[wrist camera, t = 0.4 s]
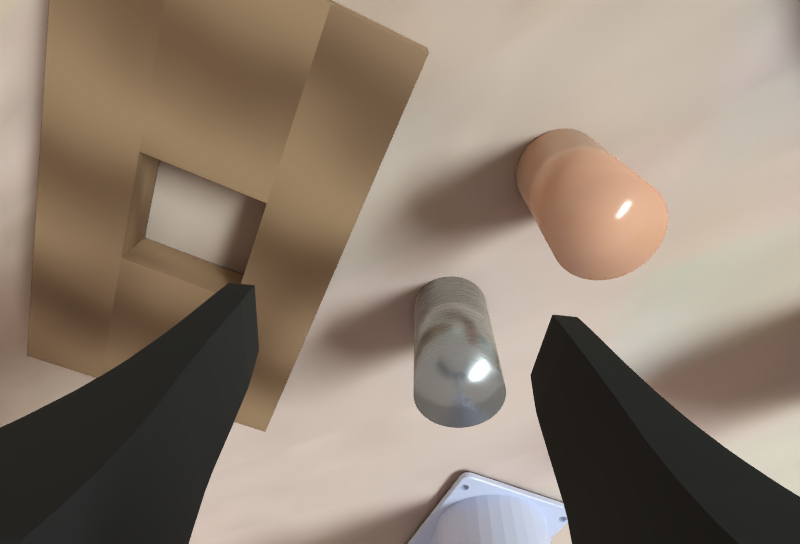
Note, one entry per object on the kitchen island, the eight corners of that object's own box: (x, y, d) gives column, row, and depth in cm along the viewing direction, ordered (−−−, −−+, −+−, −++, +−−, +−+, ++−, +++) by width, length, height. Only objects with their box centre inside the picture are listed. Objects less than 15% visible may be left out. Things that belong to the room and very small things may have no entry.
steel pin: (465, 345, 25) (477, 438, 19) (402, 321, 24) (398, 410, 19) (499, 293, 23) (523, 378, 18) (433, 266, 22) (438, 346, 17)
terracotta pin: (570, 222, 21) (620, 295, 16) (500, 191, 20) (529, 256, 15) (619, 150, 19) (693, 204, 14) (545, 114, 19) (594, 156, 14)
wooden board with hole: (274, 404, 27) (265, 431, 25) (54, 330, 25) (26, 355, 23) (427, 48, 18) (428, 52, 16) (97, -116, 16) (57, -131, 14)
